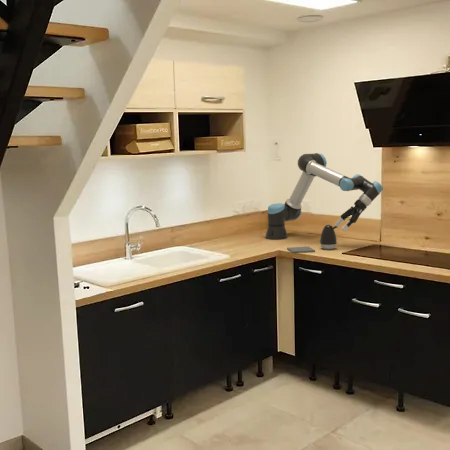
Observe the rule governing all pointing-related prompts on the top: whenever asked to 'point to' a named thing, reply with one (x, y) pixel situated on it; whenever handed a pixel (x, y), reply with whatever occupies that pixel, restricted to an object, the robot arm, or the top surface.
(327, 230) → the pump dispenser
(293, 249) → the charcoal mat
